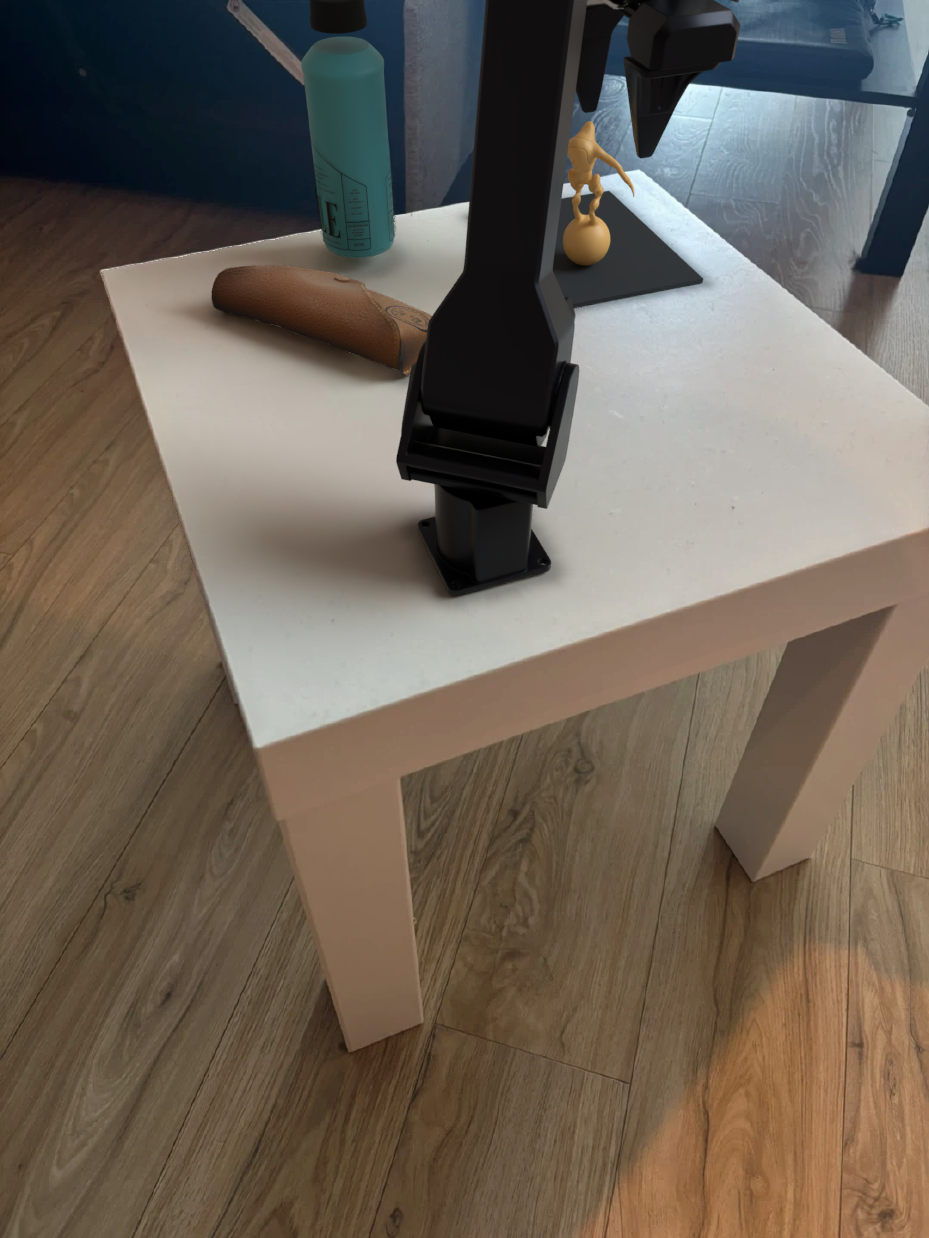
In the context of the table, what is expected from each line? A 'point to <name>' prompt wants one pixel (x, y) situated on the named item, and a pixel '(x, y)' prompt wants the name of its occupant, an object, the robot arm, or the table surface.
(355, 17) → the beverage bottle
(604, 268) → the mat
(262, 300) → the sunglasses case
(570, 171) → the figurine
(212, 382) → the table surface
